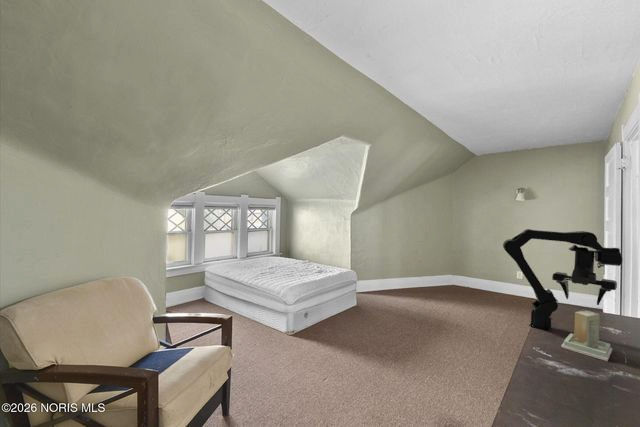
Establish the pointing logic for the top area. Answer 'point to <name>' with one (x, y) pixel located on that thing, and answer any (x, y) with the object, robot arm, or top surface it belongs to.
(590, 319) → the skincare box
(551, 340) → the top surface
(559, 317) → the top surface
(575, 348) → the dock
